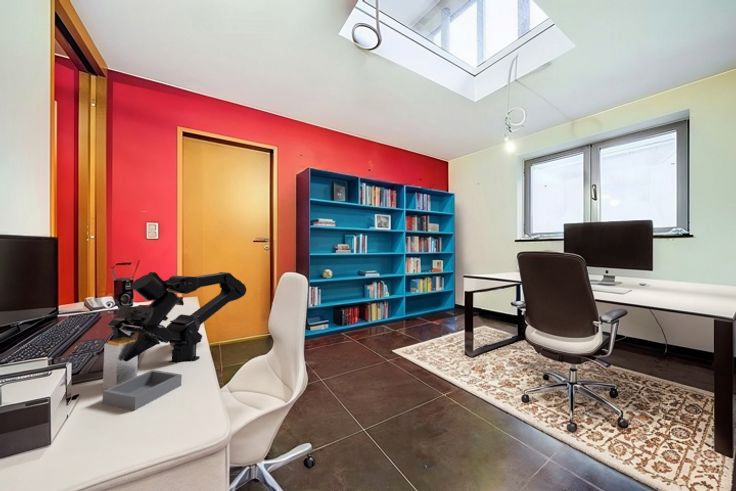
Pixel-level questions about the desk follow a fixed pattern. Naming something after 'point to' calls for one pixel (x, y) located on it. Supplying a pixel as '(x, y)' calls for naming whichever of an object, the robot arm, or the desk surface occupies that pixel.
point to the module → (118, 362)
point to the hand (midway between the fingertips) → (115, 359)
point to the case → (141, 389)
